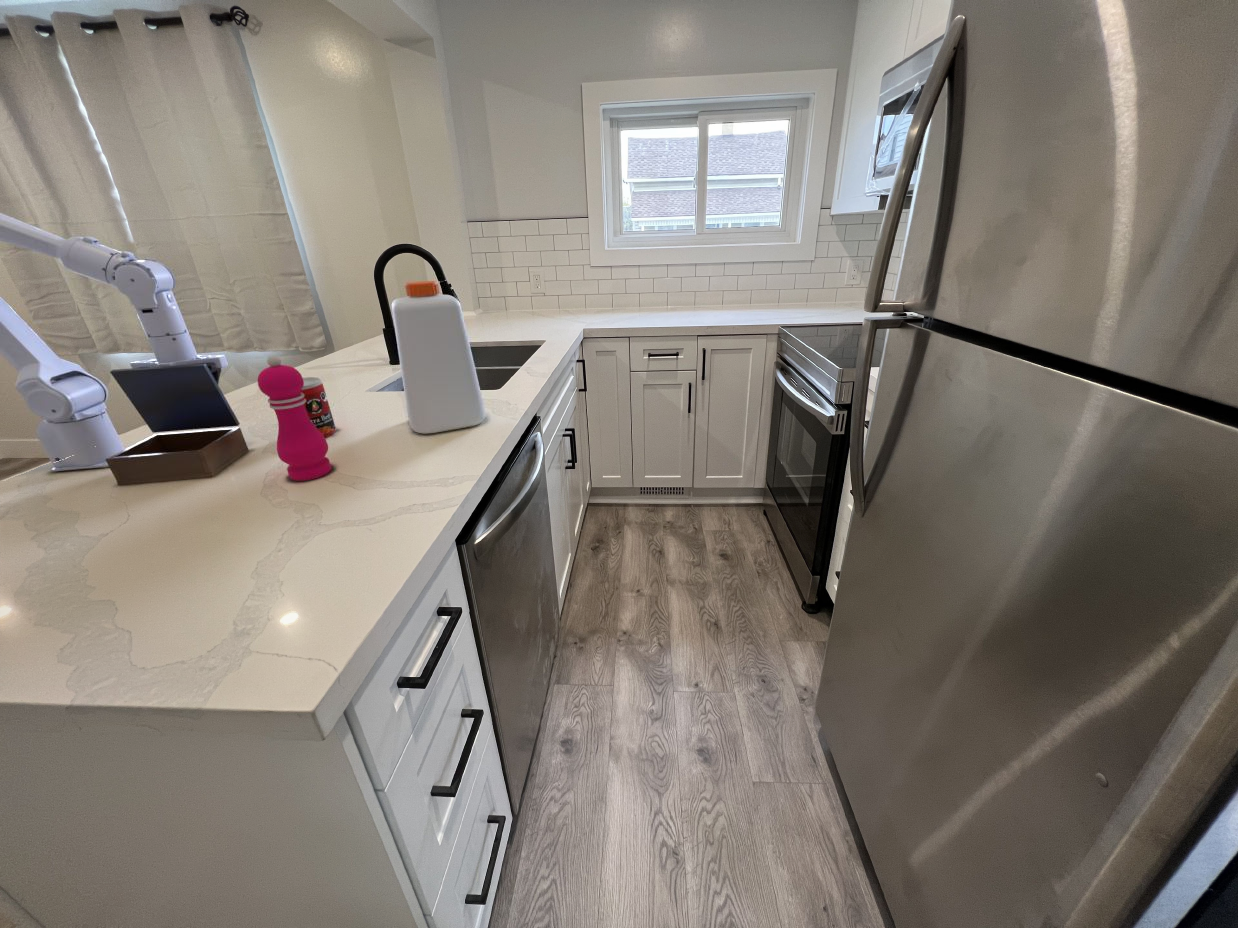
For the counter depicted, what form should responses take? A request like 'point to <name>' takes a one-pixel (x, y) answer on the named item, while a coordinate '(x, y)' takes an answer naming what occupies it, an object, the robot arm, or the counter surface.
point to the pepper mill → (294, 422)
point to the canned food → (318, 406)
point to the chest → (178, 456)
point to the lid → (176, 397)
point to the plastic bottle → (436, 361)
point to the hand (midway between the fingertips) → (198, 407)
